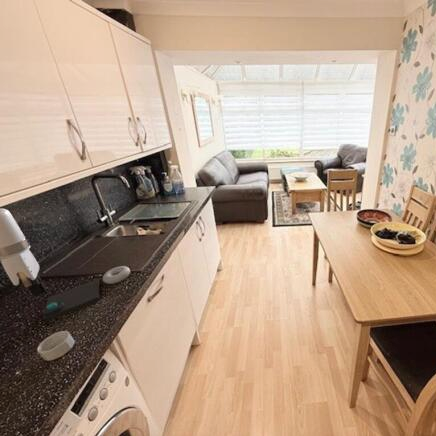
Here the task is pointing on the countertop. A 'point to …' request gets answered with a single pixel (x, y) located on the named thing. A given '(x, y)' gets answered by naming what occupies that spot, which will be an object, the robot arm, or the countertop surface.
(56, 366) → the countertop surface
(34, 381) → the countertop surface
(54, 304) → the tare button
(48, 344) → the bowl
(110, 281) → the donut
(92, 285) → the scale
